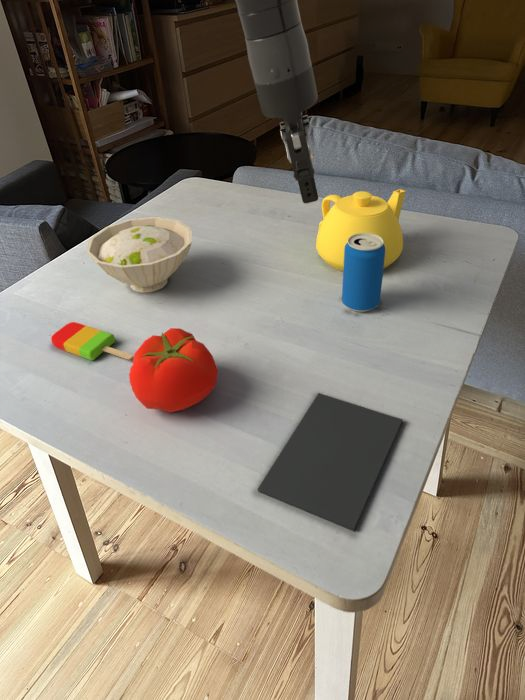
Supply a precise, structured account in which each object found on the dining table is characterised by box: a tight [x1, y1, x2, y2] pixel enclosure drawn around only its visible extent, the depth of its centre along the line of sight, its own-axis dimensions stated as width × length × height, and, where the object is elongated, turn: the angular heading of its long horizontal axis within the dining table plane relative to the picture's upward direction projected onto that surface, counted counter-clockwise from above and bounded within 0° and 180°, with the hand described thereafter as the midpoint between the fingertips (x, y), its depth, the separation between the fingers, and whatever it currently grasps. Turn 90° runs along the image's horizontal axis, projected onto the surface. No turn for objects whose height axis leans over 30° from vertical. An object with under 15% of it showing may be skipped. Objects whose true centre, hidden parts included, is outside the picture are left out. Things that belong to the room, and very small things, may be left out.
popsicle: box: [50, 321, 134, 361], centre depth 86 cm, size 6×15×2 cm, turn 61°
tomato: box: [128, 327, 219, 413], centre depth 75 cm, size 13×12×8 cm
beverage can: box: [341, 233, 385, 313], centre depth 89 cm, size 6×6×12 cm
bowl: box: [85, 216, 193, 294], centre depth 98 cm, size 19×19×10 cm
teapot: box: [315, 188, 406, 272], centre depth 103 cm, size 20×19×13 cm
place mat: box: [257, 392, 403, 532], centre depth 67 cm, size 18×12×1 cm, turn 152°
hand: (309, 188), depth 77 cm, fingers open, 8 cm apart
